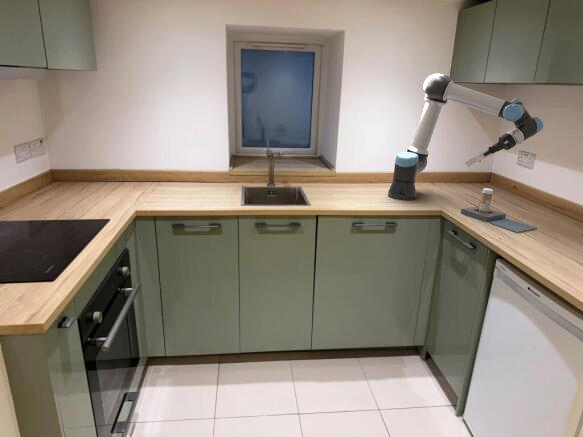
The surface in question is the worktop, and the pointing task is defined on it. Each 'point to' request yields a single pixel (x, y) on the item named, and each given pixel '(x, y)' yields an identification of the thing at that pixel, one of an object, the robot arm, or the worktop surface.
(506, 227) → the slate mat
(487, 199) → the sprinkles bottle
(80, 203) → the worktop surface
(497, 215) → the collar block
